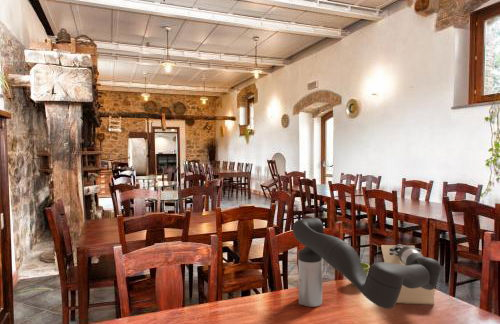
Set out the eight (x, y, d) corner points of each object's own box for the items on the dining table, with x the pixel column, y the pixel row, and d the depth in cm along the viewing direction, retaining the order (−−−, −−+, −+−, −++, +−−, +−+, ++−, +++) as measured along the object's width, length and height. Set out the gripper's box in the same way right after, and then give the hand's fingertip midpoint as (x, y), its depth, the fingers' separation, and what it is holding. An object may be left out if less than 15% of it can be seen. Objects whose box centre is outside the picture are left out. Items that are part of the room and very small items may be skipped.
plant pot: (371, 289, 149) (371, 269, 148) (348, 287, 150) (348, 268, 150) (368, 281, 158) (368, 262, 157) (346, 280, 160) (346, 261, 159)
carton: (389, 303, 135) (389, 278, 134) (381, 290, 147) (381, 267, 147) (435, 305, 133) (435, 279, 132) (423, 292, 145) (423, 268, 144)
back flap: (385, 265, 146) (381, 245, 153) (385, 266, 146) (380, 245, 154) (420, 266, 144) (414, 245, 151) (420, 267, 145) (414, 246, 152)
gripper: (393, 267, 135) (383, 254, 153) (429, 268, 134) (414, 255, 151) (393, 248, 135) (383, 237, 152) (429, 249, 133) (414, 237, 150)
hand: (398, 246), depth 151 cm, fingers closed
